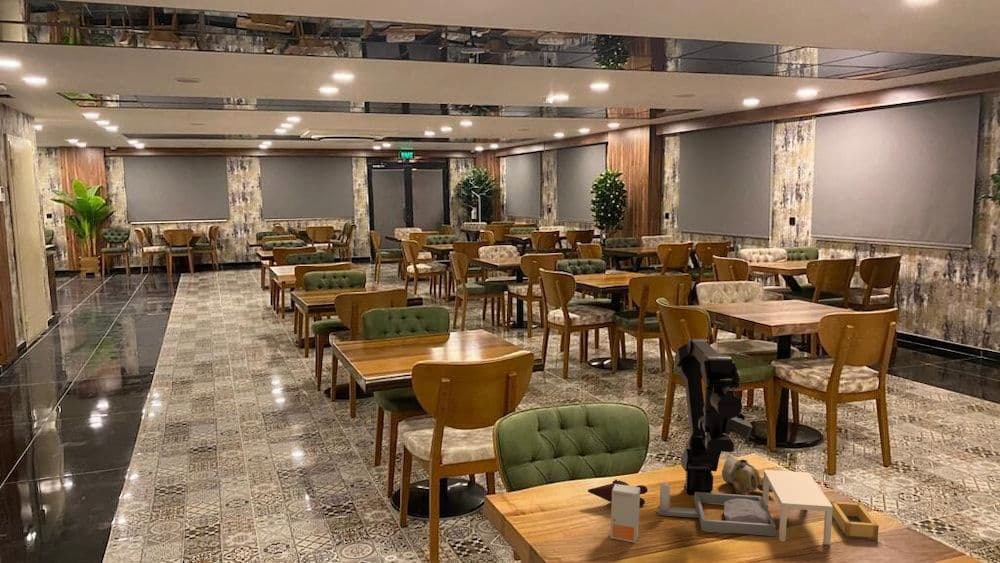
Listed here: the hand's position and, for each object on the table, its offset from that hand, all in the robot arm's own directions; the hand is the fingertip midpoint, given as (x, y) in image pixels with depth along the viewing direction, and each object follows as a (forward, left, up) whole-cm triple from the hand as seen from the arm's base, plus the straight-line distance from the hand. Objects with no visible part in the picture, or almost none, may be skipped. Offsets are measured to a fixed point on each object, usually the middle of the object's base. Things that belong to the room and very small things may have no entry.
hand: (713, 466), depth 177 cm
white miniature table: (+19, -3, -12) cm, 23 cm away
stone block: (+7, -3, -12) cm, 15 cm away
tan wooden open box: (+32, -3, -12) cm, 35 cm away
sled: (0, -3, -12) cm, 12 cm away
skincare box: (-22, -17, -12) cm, 30 cm away
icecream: (-24, 0, -12) cm, 27 cm away
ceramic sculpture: (+10, +16, -12) cm, 23 cm away
